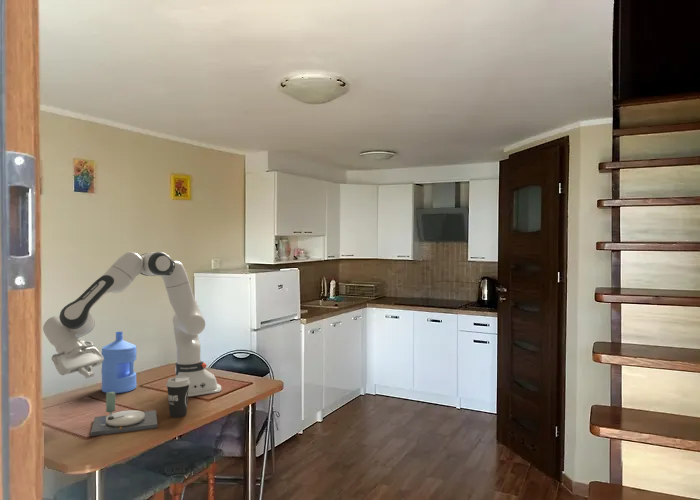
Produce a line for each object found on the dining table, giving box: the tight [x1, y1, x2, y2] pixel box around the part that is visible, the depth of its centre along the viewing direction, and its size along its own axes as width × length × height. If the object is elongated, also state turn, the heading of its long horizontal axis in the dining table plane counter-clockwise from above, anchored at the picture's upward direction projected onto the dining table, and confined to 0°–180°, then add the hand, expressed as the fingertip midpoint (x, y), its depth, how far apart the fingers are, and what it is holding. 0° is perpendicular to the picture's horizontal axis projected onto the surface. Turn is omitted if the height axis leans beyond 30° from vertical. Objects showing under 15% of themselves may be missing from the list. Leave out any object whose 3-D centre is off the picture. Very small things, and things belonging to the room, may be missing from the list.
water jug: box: [101, 331, 137, 394], centre depth 250 cm, size 16×16×28 cm
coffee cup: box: [165, 376, 190, 419], centre depth 213 cm, size 10×10×15 cm
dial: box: [105, 392, 145, 426], centre depth 202 cm, size 14×14×12 cm
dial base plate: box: [90, 409, 158, 437], centre depth 202 cm, size 23×18×2 cm
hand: (90, 376), depth 206 cm, fingers closed
